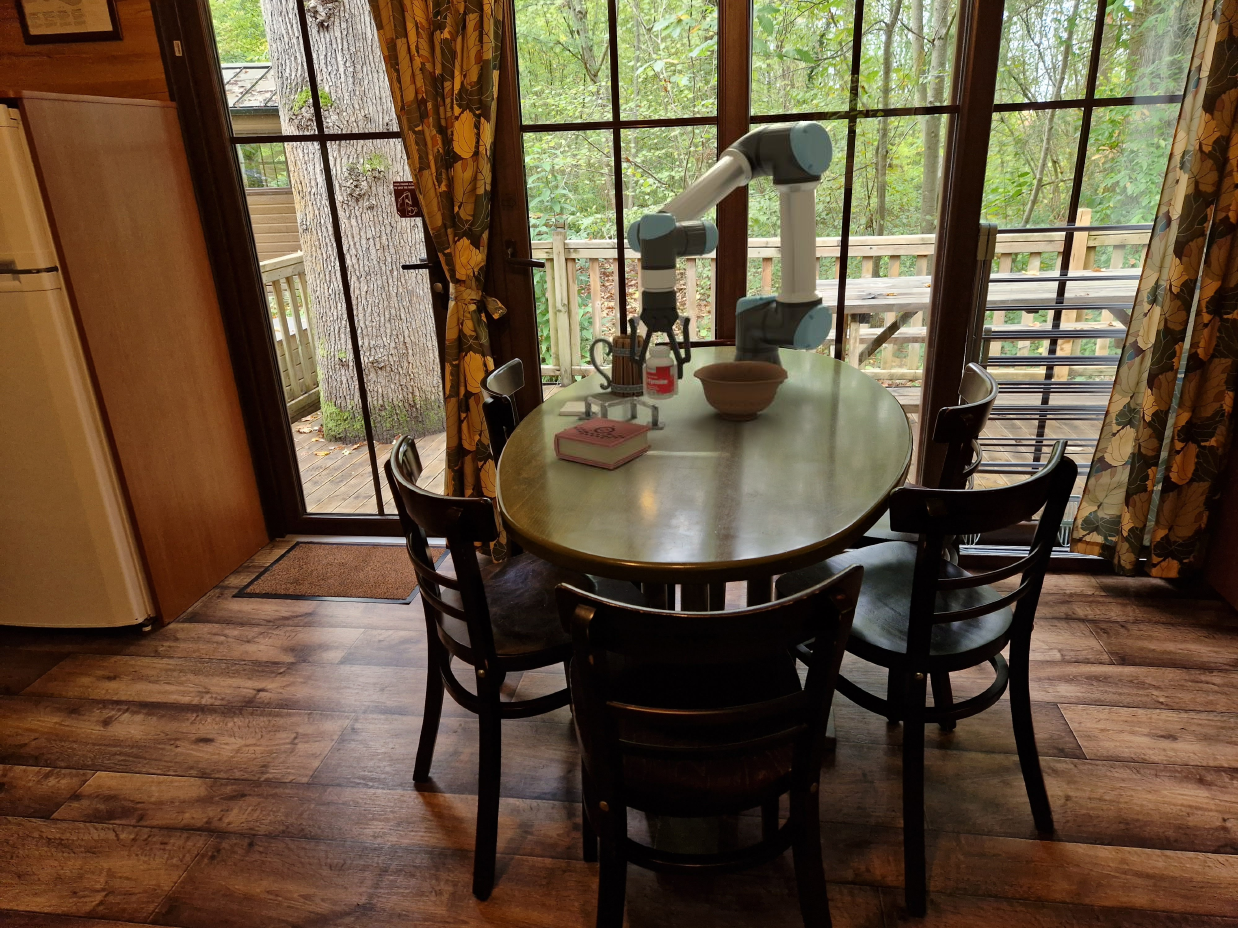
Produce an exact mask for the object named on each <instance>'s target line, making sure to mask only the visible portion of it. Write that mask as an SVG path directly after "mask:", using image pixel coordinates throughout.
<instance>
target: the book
mask: <svg viewBox="0 0 1238 928" xmlns="http://www.w3.org/2000/svg"><path fill="white" fill-rule="evenodd" d="M650 431H652V429H651V426H646V424H645V425H644V424H639V423H634V422H629V421H622V420H616V419H612V418H611V419H610V418H608V419H606V418H601V416H600V417H599V416H597V417H596V418H594V419H591V420H590V419H588V420H585V421H583V422H581V423H579V424H577V425H574V426H571V427H570V428H565V429H563V430H562V431H560V432H557V433H554V436H553V448H554V449H553V450H554V453H555V456H556V458H558V459H559V458H560V459H565V460H569V461H572V462H578V463H583V464H586V465H590V466H591V465H592V466H595V467H600V468H605V469H610V470H613V469H614V468H616V467H618V466H621V465H623V464H624V463H626V462H628V461H631V460H633V459H635V458H636V457H639V456H641V455H643V454H645V453H647V452H649V451H650V450H649V449H651V448H653V446H652V445H650V444H648V432H650Z"/></svg>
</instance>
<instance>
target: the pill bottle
mask: <svg viewBox="0 0 1238 928" xmlns="http://www.w3.org/2000/svg"><path fill="white" fill-rule="evenodd" d="M648 353H649V357H648V358H646V388H647V395H646V397H647V398H649V399H650V400H656V401H657V400H658V401H659V400H660V401H663V400H664V401H665V400H669V399H672V398H674V396H675V395H674V364H675V359H674V358H673V357H671V356H670V355H671V346H668V345H667V346H666V345H654V346H653V345H652V346H649V347H648Z"/></svg>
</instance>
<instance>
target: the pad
mask: <svg viewBox="0 0 1238 928" xmlns="http://www.w3.org/2000/svg"><path fill="white" fill-rule="evenodd" d="M591 405H592V413H598V414H599V412H600V411H601V408H600V407H598V406H596V405H593V404H591ZM581 413H585V401H567V402H566V403H565V404H564V405H563V407H562V408H561V409H560V410H559V415H560V416H580V415H581Z"/></svg>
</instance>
